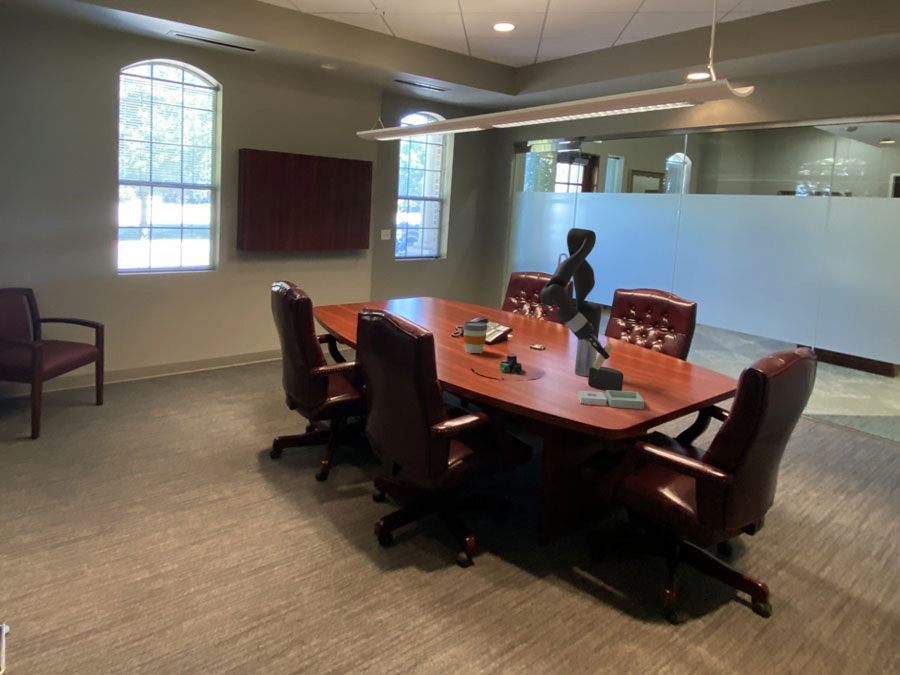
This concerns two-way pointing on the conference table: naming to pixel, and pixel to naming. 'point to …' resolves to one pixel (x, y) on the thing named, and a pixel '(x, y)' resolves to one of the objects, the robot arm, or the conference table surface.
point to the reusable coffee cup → (474, 336)
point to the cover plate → (592, 397)
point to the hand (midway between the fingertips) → (607, 357)
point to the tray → (624, 399)
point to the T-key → (600, 358)
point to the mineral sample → (511, 365)
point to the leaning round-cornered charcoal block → (605, 378)
